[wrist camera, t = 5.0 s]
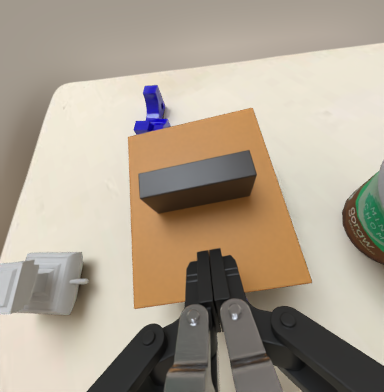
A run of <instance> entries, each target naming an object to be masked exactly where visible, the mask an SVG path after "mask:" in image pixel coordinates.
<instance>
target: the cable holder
mask: <svg viewBox="0 0 384 392" xmlns="http://www.w3.org/2000/svg"><path fill="white" fill-rule="evenodd" d="M143 95H144V98H145V101H146V107H147V117H146V121H136V123H135V127H134V131H135V133H136V134H137V135H138V134H143V133H147V132H151V131H155V130H160V129H164V128H168V127H170V124H169V121H168V119H163V114H164V109H165V104H164V101H163V99H162V96H161V93H160V91H159V88H158V85H153V86H145V88H144V91H143Z"/></svg>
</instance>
